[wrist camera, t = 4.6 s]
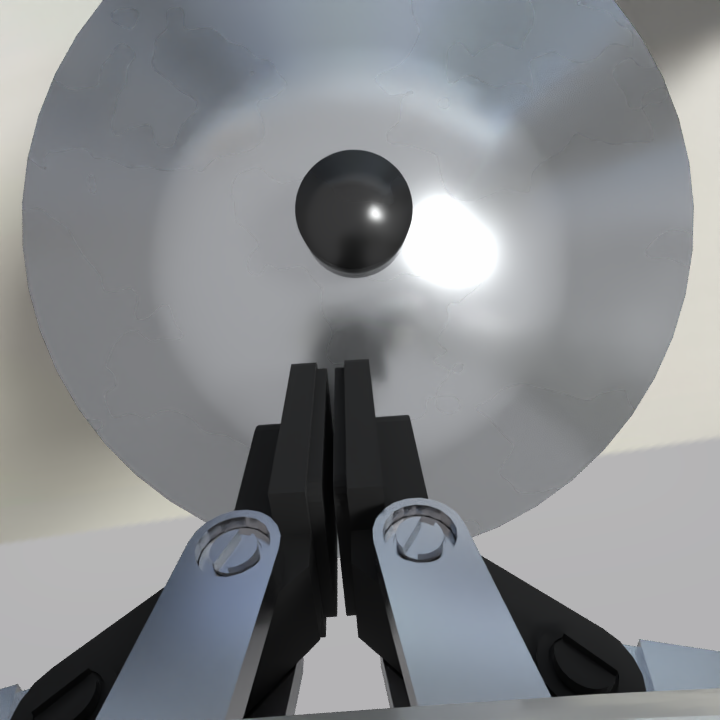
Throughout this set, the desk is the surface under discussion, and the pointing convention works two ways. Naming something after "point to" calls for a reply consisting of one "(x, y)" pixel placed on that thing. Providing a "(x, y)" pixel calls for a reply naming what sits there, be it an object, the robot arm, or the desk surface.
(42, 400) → the desk surface
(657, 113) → the lid
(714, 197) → the desk surface
